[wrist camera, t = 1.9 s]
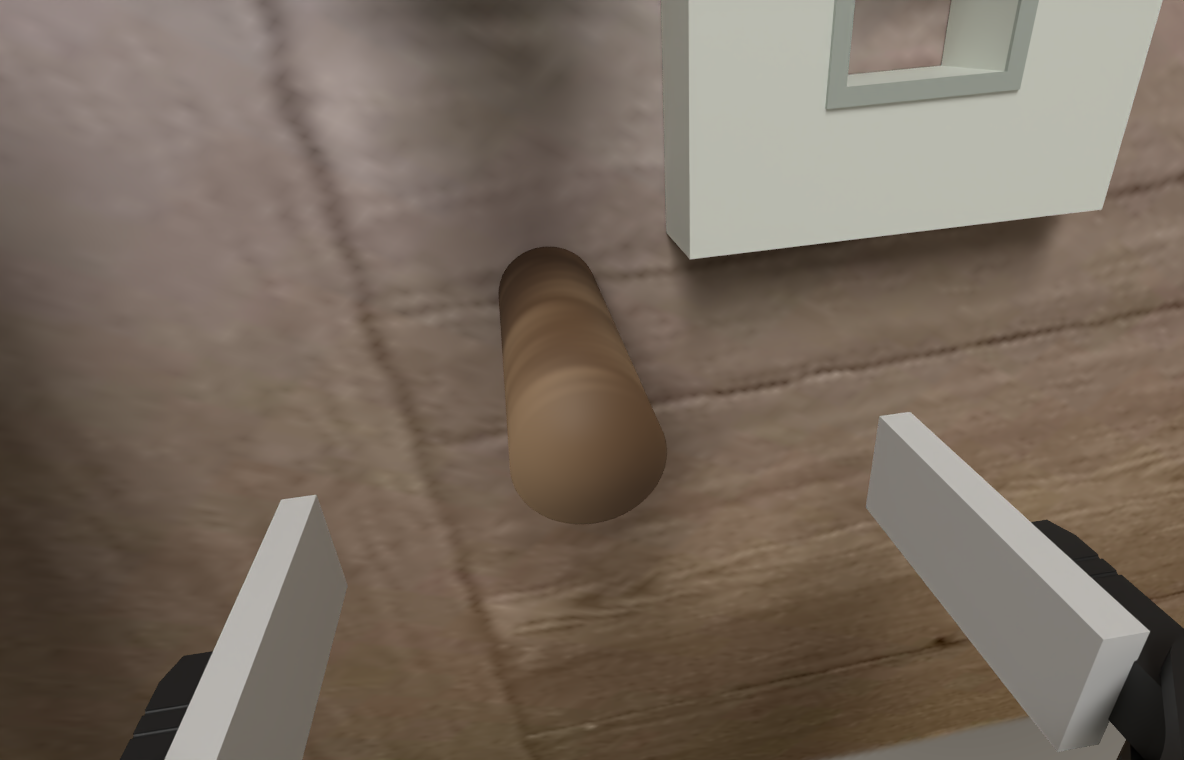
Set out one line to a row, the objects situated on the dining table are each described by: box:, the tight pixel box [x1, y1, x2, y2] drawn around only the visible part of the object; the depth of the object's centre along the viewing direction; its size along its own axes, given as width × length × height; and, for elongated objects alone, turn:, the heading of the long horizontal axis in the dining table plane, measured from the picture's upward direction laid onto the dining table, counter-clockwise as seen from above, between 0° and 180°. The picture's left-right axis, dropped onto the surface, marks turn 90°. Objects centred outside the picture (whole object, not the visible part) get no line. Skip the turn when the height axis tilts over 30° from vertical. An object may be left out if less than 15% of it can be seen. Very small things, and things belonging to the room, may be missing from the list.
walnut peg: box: [499, 247, 667, 524], centre depth 22 cm, size 4×4×12 cm
